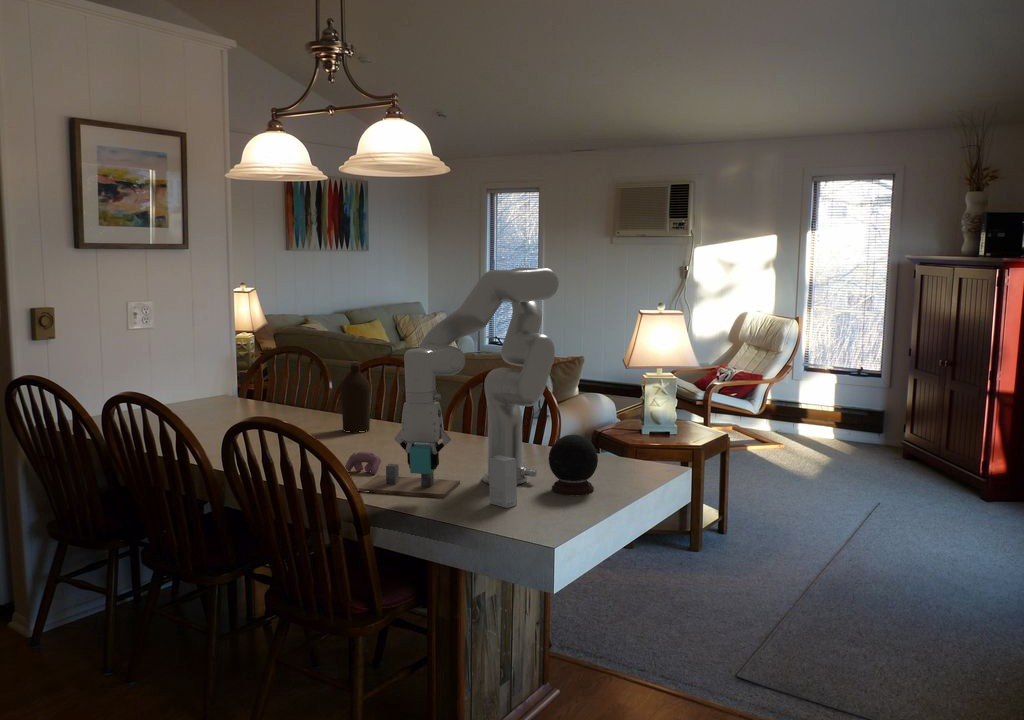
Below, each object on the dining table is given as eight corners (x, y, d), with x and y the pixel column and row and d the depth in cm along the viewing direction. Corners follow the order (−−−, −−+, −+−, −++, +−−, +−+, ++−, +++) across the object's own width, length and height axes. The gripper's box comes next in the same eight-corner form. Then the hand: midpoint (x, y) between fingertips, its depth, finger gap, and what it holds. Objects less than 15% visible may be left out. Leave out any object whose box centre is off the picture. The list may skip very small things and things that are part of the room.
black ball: (585, 499, 217) (586, 442, 215) (539, 492, 223) (540, 436, 222) (605, 487, 228) (606, 433, 227) (561, 481, 235) (561, 428, 233)
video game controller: (379, 478, 243) (384, 454, 245) (373, 474, 239) (378, 450, 241) (348, 475, 246) (353, 452, 248) (342, 472, 241) (346, 448, 244)
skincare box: (517, 505, 211) (518, 458, 210) (505, 509, 208) (505, 461, 207) (500, 500, 216) (500, 454, 214) (487, 504, 212) (488, 457, 211)
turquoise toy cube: (436, 468, 216) (435, 443, 215) (430, 474, 211) (429, 448, 210) (417, 467, 217) (416, 442, 217) (410, 473, 212) (409, 447, 212)
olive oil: (353, 434, 295) (352, 364, 292) (335, 430, 302) (333, 361, 299) (377, 430, 303) (376, 361, 300) (358, 426, 310) (357, 359, 307)
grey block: (398, 482, 229) (398, 464, 228) (395, 484, 226) (395, 466, 226) (389, 481, 229) (389, 463, 229) (386, 484, 227) (385, 466, 226)
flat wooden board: (459, 484, 231) (459, 462, 230) (444, 498, 217) (444, 475, 217) (378, 478, 236) (377, 457, 236) (358, 491, 223) (357, 469, 222)
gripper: (457, 395, 213) (459, 465, 216) (394, 394, 217) (397, 462, 220) (448, 401, 206) (451, 473, 209) (383, 399, 210) (386, 470, 213)
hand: (423, 467), depth 214 cm, fingers closed on turquoise toy cube, 5 cm apart
